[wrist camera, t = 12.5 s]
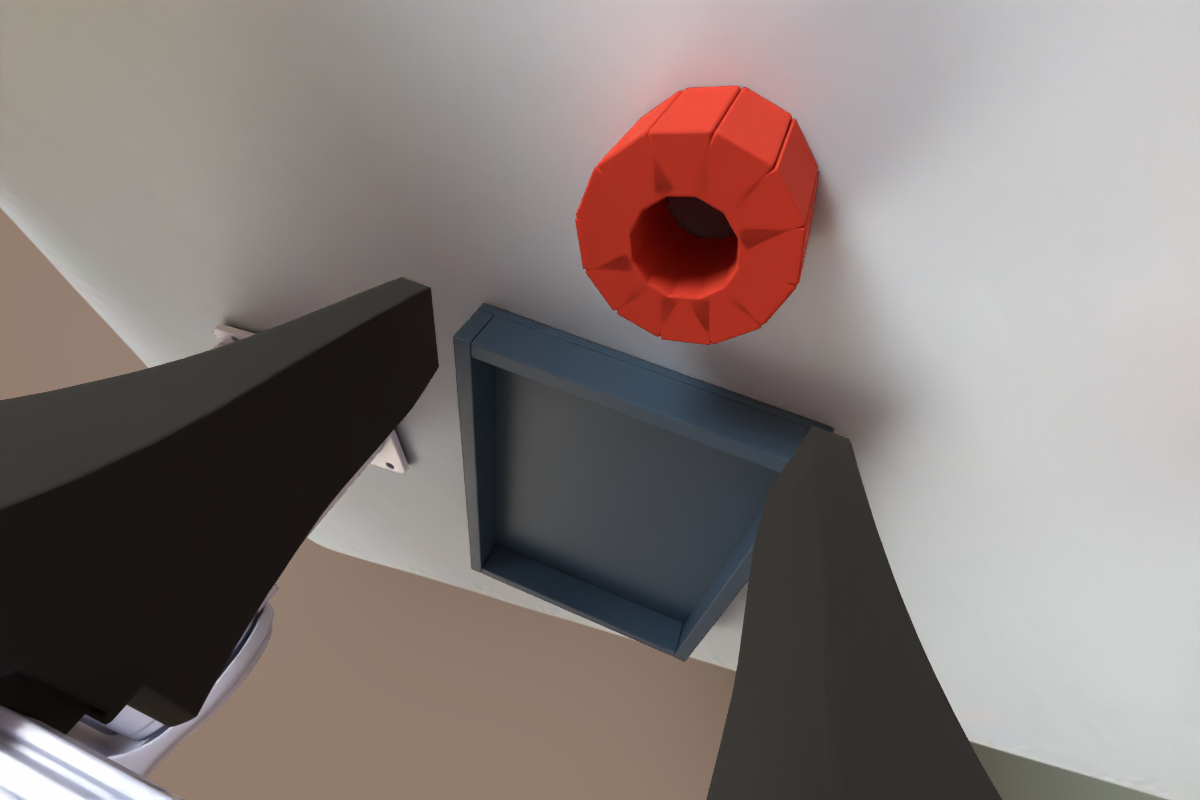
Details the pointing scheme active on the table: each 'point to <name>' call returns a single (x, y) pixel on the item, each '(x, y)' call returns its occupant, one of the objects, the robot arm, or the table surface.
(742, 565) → the tray
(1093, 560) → the table surface
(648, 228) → the ring
